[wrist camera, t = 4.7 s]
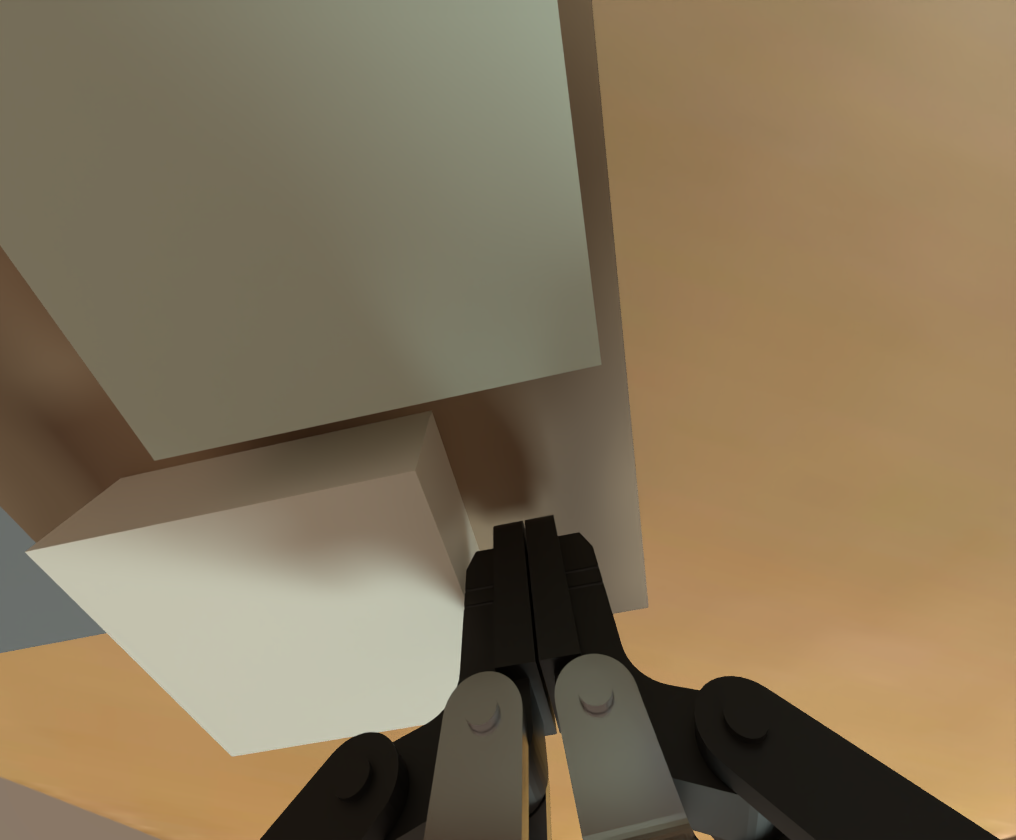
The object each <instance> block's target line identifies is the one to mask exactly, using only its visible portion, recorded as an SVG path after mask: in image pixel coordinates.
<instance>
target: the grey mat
mask: <svg viewBox="0 0 1016 840" xmlns="http://www.w3.org/2000/svg"><path fill="white" fill-rule="evenodd" d="M34 544H36V542H35V541H34V540H33V539H32V538H31V537H30V536H29V535H28V534H27V533H26V532H25V531H24V530H23V529H22V528H21V527H20V526H19V525H18V524H17V523H16V522H15V521H14V520H13V519H12V518H11V517H10V516H9V515H8V514H7V513H6V512H5V511H4V510H3V509H2V508H1V507H0V653H3V652H8V651H14V650H19V649H24V648H30V647H35V646H40V645H46V644H51V643H56V642H62V641H67V640H72V639H77V638H83V637H88V636H93V635H99V634H104V633H106V632H105V631H104V630H103V629H102V628H101V627H100V626H99V625H98V624H97V623H96V622H95V621H94V620H93V619H92V618H91V617H90V616H89V615H88V614H87V613H86V612H85V611H84V610H83V609H82V608H81V607H80V606H79V605H78V604H77V603H76V602H75V601H74V600H73V599H72V598H71V597H70V596H69V595H68V594H67V593H66V592H65V591H64V590H63V589H62V588H61V587H60V586H59V585H58V584H57V583H56V582H55V581H54V580H53V579H52V578H51V577H50V576H48V575H47V574H46V573H45V572H44V571H43V570H42V569H41V568H40V567H39V566H38V565H37V564H36V563H35V562H34V561H33V560H32V559H31V558H30V557H29V556H28V555H27V554H26V553H25V551H27V550H28V549H29V548H30V547H32V546H33V545H34Z"/></svg>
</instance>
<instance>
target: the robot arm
mask: <svg viewBox="0 0 1016 840" xmlns="http://www.w3.org/2000/svg"><path fill="white" fill-rule="evenodd" d="M465 591H466V593H465V598H464V608H465V610H464V614H463V630H462V645H461V661H460V674H459V681H458V684H457V687H456V688H455V690H454V691H453V692H452V694H451V695H450V697H449V699H448V701H447V704H446V706H445V708H444V710H443V711H442V712H441V713H440V714H439V715H438V716H436V717H435V718H434V719H433V720H432V721H430V722H428V723H427V724H425V725H424V726H422V727H420V728H418V729H416V730H414V731H412V732H411V733H409V734H407V735H405V736H403V737H401V738H400V739H398V740H396V741H394V742H392V741H391V740H390V739H389V738H388V737H386V736H385V735H383V734H380V733H377V732H366V733H362V734H359V735H357V736H354V737H352V738H351V739H349V740H347V741H346V742H344V743H343V744H342V745H341V746H340V747H339V748H337V749H336V751H335V752H334V753H333V754H332V755H331V756H330V757H329V758H328V760H327V761H326V762H325V763H324V764H323V765H322V767H321V768H320V769H319V770H318V771H317V773H316V774H315V775H314V776H313V777H312V778H311V780H310V781H309V782H308V783H307V784H306V786H305V787H304V788H303V789H302V790H301V791H300V793H299V794H298V795H297V796H296V797H295V799H294V800H293V801H292V802H291V803H290V804H289V806H288V807H287V808H286V809H285V810H284V812H283V813H282V814H281V815H280V816H279V817H278V819H277V820H276V821H275V822H274V823H273V825H272V826H271V827H270V828H269V829H268V830H267V832H266V833H265V834H264V835H263V836H262V838H261V839H260V840H552V833H551V807H550V785H549V778H548V763H547V753H546V743H545V736H547V735H553V734H557V731H556V723H555V718H556V721H557V725H558V728H559V731H560V733H561V734H562V739H563V744H564V749H565V754H566V759H567V764H568V769H569V774H570V778H571V783H572V788H573V793H574V798H575V803H576V808H577V813H578V818H579V823H580V828H581V833H582V838H583V840H699V839H698V838H697V837H696V836H695V834H694V832H693V830H695V831H698V832H702V833H705V834H708V835H711V836H712V837H713V838H714V840H1000V839H998V838H997V837H995V836H994V835H992V834H991V833H989V832H988V831H986V830H985V829H983V828H981V827H980V826H978V825H977V824H975V823H974V822H972V821H971V820H969V819H968V818H966V817H964V816H963V815H961V814H960V813H958V812H957V811H955V810H954V809H952V808H951V807H949V806H948V805H946V804H944V803H943V802H941V801H940V800H938V799H937V798H935V797H934V796H932V795H931V794H929V793H927V792H926V791H924V790H923V789H921V788H920V787H918V786H917V785H915V784H914V783H912V782H911V781H909V780H907V779H906V778H904V777H903V776H901V775H900V774H898V773H897V772H895V771H894V770H892V769H891V768H889V767H887V766H886V765H884V764H883V763H881V762H880V761H878V760H877V759H875V758H874V757H872V756H870V755H869V754H867V753H866V752H864V751H863V750H861V749H860V748H858V747H857V746H855V745H854V744H852V743H850V742H849V741H847V740H846V739H844V738H843V737H841V736H840V735H838V734H837V733H835V732H834V731H832V730H830V729H829V728H827V727H826V726H824V725H823V724H821V723H820V722H818V721H817V720H815V719H813V718H812V717H810V716H809V715H807V714H806V713H804V712H803V711H801V710H800V709H798V708H797V707H795V706H793V705H792V704H790V703H789V702H787V701H786V700H784V699H783V698H781V697H780V696H778V695H777V694H775V693H773V692H772V691H770V690H769V689H767V688H766V687H764V686H762V685H760V684H759V683H757V682H754V681H752V680H749V679H746V678H742V677H735V676H724V677H720V678H716V679H714V680H711V681H710V682H708V683H707V684H705V685H704V686H703V688H702V689H701V690H694V689H689V688H683V687H677V686H672V685H667V684H663V683H660V682H657V681H655V680H653V679H651V678H649V677H647V676H645V675H644V674H643V673H641V672H640V671H639V670H638V669H637V668H636V667H635V666H634V665H633V664H632V663H631V662H630V660H629V659H628V658H627V656H626V654H625V652H624V650H623V647H622V644H621V641H620V637H619V634H618V631H617V627H616V624H615V620H614V617H613V614H612V610H611V607H610V603H609V600H608V596H607V593H606V590H605V586H604V584H603V579H602V576H601V573H600V569H599V566H598V562H597V559H596V555H595V552H594V549H593V546H592V545H591V544H590V543H589V542H588V541H587V540H586V539H585V537H584V536H583V535H582V534H581V533H580V532H577V533H572V534H567V535H561V536H558V534H557V529H556V524H555V520H554V515H548V516H543V517H538V518H533V519H527V520H525V526H524V523H523V521H518V522H512V523H507V524H502V525H497V526H494V527H493V549H487V550H482V551H477V552H475V554H474V556H473V558H472V560H471V562H470V564H469V566H468V568H467V570H466V583H465ZM554 714H555V715H554Z"/></svg>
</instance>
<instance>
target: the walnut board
mask: <svg viewBox="0 0 1016 840" xmlns="http://www.w3.org/2000/svg"><path fill="white" fill-rule="evenodd" d="M557 3H558V11H559V19H560V28H561V36H562V44H563V52H564V61H565V69H566V77H567V85H568V93H569V102H570V110H571V118H572V126H573V135H574V143H575V151H576V159H577V167H578V176H579V184H580V192H581V200H582V209H583V217H584V225H585V233H586V241H587V250H588V258H589V266H590V274H591V283H592V291H593V299H594V307H595V315H596V324H597V332H598V340H599V348H600V357H601V365H598V366H594V367H589V368H584V369H580V370H575V371H570V372H566V373H561V374H556V375H552V376H547V377H542V378H538V379H533V380H528V381H524V382H519V383H514V384H510V385H505V386H500V387H496V388H491V389H486V390H482V391H477V392H472V393H468V394H463V395H458V396H454V397H449V398H444V399H440V400H435V401H431V402H426V403H421V404H417V405H412V406H407V407H403V408H398V409H393V410H389V411H384V412H379V413H375V414H370V415H365V416H361V417H356V418H351V419H347V420H342V421H337V422H333V423H328V424H323V425H319V426H314V427H309V428H305V429H300V430H295V431H291V432H286V433H281V434H277V435H272V436H268V437H263V438H258V439H254V440H249V441H244V442H240V443H235V444H230V445H226V446H221V447H216V448H212V449H207V450H202V451H198V452H193V453H188V454H184V455H179V456H174V457H170V458H165V459H160V460H156V461H154V459H153V458H152V456H151V455H150V454H149V452H148V451H147V449H146V448H145V447H144V445H143V444H142V443H141V441H140V440H139V438H138V437H137V436H136V434H135V433H134V431H133V430H132V429H131V427H130V426H129V424H128V423H127V422H126V420H125V419H124V417H123V416H122V415H121V413H120V412H119V410H118V409H117V408H116V406H115V405H114V403H113V402H112V401H111V399H110V398H109V396H108V395H107V394H106V392H105V391H104V390H103V388H102V387H101V385H100V384H99V383H98V381H97V380H96V378H95V377H94V376H93V374H92V373H91V371H90V370H89V369H88V367H87V366H86V364H85V363H84V362H83V360H82V359H81V357H80V356H79V355H78V353H77V352H76V350H75V349H74V348H73V346H72V345H71V344H70V342H69V341H68V339H67V338H66V337H65V335H64V334H63V332H62V331H61V330H60V328H59V327H58V325H57V324H56V323H55V321H54V320H53V318H52V317H51V316H50V314H49V313H48V311H47V310H46V309H45V307H44V306H43V304H42V303H41V302H40V300H39V299H38V297H37V296H36V295H35V293H34V292H33V291H32V289H31V288H30V286H29V285H28V284H27V282H26V281H25V279H24V278H23V277H22V275H21V274H20V272H19V271H18V270H17V268H16V267H15V265H14V264H13V263H12V261H11V260H10V258H9V257H8V256H7V254H6V253H5V251H4V250H3V249H2V247H1V246H0V507H1V508H2V509H3V510H4V511H5V512H6V513H7V514H8V515H9V516H10V517H11V518H12V519H13V520H14V521H15V522H16V523H17V524H18V525H19V526H20V527H21V528H22V529H23V530H24V531H25V532H26V533H27V534H28V535H29V536H30V537H31V538H32V539H33V540H34V541H35V542H36V543H37V542H38V541H40V540H41V539H42V538H43V537H45V536H46V535H47V534H49V533H50V532H51V531H53V530H54V529H55V528H56V527H58V526H59V525H60V524H62V523H63V522H64V521H66V520H67V519H68V518H69V517H71V516H72V515H73V514H75V513H76V512H77V511H79V510H80V509H81V508H83V507H84V506H85V505H86V504H88V503H89V502H90V501H92V500H93V499H94V498H96V497H97V496H98V495H99V494H101V493H102V492H103V491H105V490H106V489H107V488H109V487H110V486H111V485H112V484H114V483H115V482H116V481H118V480H119V479H120V478H123V477H128V476H132V475H137V474H142V473H146V472H151V471H155V470H160V469H165V468H169V467H174V466H178V465H183V464H188V463H192V462H197V461H201V460H206V459H211V458H215V457H220V456H224V455H229V454H233V453H238V452H243V451H247V450H252V449H256V448H261V447H266V446H270V445H275V444H279V443H284V442H289V441H293V440H298V439H302V438H307V437H312V436H316V435H321V434H325V433H330V432H335V431H339V430H344V429H348V428H353V427H358V426H362V425H367V424H371V423H376V422H381V421H385V420H390V419H394V418H399V417H403V416H408V415H413V414H417V413H422V412H426V411H431V410H432V413H433V416H434V419H435V422H436V425H437V428H438V431H439V433H440V436H441V439H442V442H443V445H444V448H445V451H446V454H447V457H448V460H449V463H450V466H451V469H452V472H453V475H454V477H455V480H456V483H457V486H458V489H459V492H460V495H461V498H462V501H463V504H464V507H465V510H466V513H467V516H468V518H469V521H470V524H471V527H472V530H473V533H474V536H475V539H476V542H477V545H478V548H479V551H482V550H487V549H493V527H494V526H497V525H502V524H507V523H512V522H518V521H523V523H524V526H525V520H527V519H533V518H538V517H543V516H548V515H554V520H555V524H556V529H557V534H558V536H561V535H567V534H572V533H577V532H580V533H581V534H582V535H583V536H584V537H585V539H586V540H587V541H588V542H589V543H590V544H591V545H592V546H593V549H594V552H595V555H596V559H597V562H598V566H599V569H600V573H601V576H602V579H603V584H604V586H605V590H606V593H607V596H608V600H609V603H610V607H611V610H612V614H614V613H620V612H626V611H631V610H637V609H643V608H648V597H647V587H646V576H645V565H644V554H643V544H642V533H641V522H640V512H639V501H638V490H637V480H636V469H635V458H634V448H633V437H632V426H631V416H630V405H629V394H628V384H627V373H626V362H625V352H624V341H623V330H622V320H621V309H620V298H619V288H618V277H617V266H616V255H615V245H614V234H613V223H612V213H611V202H610V191H609V181H608V170H607V159H606V149H605V138H604V127H603V117H602V106H601V95H600V85H599V74H598V63H597V53H596V42H595V31H594V21H593V10H592V0H557Z"/></svg>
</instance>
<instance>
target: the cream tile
mask: <svg viewBox="0 0 1016 840" xmlns="http://www.w3.org/2000/svg"><path fill="white" fill-rule="evenodd" d="M477 551H479V548H478V545H477V542H476V539H475V536H474V533H473V530H472V527H471V524H470V521H469V518H468V516H467V513H466V510H465V507H464V504H463V501H462V498H461V495H460V492H459V489H458V486H457V483H456V480H455V477H454V475H453V472H452V469H451V466H450V463H449V460H448V457H447V454H446V451H445V448H444V445H443V442H442V439H441V436H440V433H439V431H438V428H437V425H436V422H435V419H434V416H433V413H432V410H431V411H426V412H422V413H417V414H413V415H408V416H403V417H399V418H394V419H390V420H385V421H381V422H376V423H371V424H367V425H362V426H358V427H353V428H348V429H344V430H339V431H335V432H330V433H325V434H321V435H316V436H312V437H307V438H302V439H298V440H293V441H289V442H284V443H279V444H275V445H270V446H266V447H261V448H256V449H252V450H247V451H243V452H238V453H233V454H229V455H224V456H220V457H215V458H211V459H206V460H201V461H197V462H192V463H188V464H183V465H178V466H174V467H169V468H165V469H160V470H155V471H151V472H146V473H142V474H137V475H132V476H128V477H123V478H120V479H119V480H118V481H116V482H115V483H114V484H112V485H111V486H110V487H109V488H107V489H106V490H105V491H103V492H102V493H101V494H99V495H98V496H97V497H96V498H94V499H93V500H92V501H90V502H89V503H88V504H86V505H85V506H84V507H83V508H81V509H80V510H79V511H77V512H76V513H75V514H73V515H72V516H71V517H69V518H68V519H67V520H66V521H64V522H63V523H62V524H60V525H59V526H58V527H56V528H55V529H54V530H53V531H51V532H50V533H49V534H47V535H46V536H45V537H43V538H42V539H41V540H40V541H38V542H37V543H36V544H34V545H33V546H32V547H30V548H29V549H28V550H27V551H25V553H26V554H27V555H28V556H29V557H30V558H31V559H32V560H33V561H34V562H35V563H36V564H37V565H38V566H39V567H40V568H41V569H42V570H43V571H44V572H45V573H46V574H47V575H48V576H50V577H51V578H52V579H53V580H54V581H55V582H56V583H57V584H58V585H59V586H60V587H61V588H62V589H63V590H64V591H65V592H66V593H67V594H68V595H69V596H70V597H71V598H72V599H73V600H74V601H75V602H76V603H77V604H78V605H79V606H80V607H81V608H82V609H83V610H84V611H85V612H86V613H87V614H88V615H89V616H90V617H91V618H92V619H93V620H94V621H95V622H96V623H97V624H98V625H99V626H100V627H101V628H102V629H103V630H104V631H105V632H106V633H107V634H108V635H109V636H110V637H111V638H112V639H113V640H114V641H115V642H116V643H117V644H118V645H119V646H120V647H121V648H122V649H123V650H125V651H126V652H127V653H128V654H129V655H130V656H131V657H132V658H133V659H134V660H135V661H136V662H137V663H138V664H139V665H140V666H141V667H142V668H143V669H144V670H145V671H146V672H147V673H148V674H149V675H150V676H151V677H152V678H153V679H154V680H155V681H156V682H157V683H158V684H159V685H160V686H161V687H162V688H163V689H164V690H165V691H166V692H167V693H168V694H169V695H170V696H171V697H172V698H173V699H174V700H175V701H176V702H177V703H178V704H179V705H180V706H181V707H182V708H183V709H184V710H185V711H186V712H187V713H188V714H189V715H190V716H191V717H192V718H193V719H194V720H195V721H196V722H197V723H198V724H199V725H201V726H202V727H203V728H204V729H205V730H206V731H207V732H208V733H209V734H210V735H211V736H212V737H213V738H214V739H215V740H216V741H217V742H218V743H219V744H220V745H221V746H222V747H223V748H224V749H225V750H226V751H227V752H228V753H229V754H230V755H231V756H238V755H244V754H250V753H256V752H262V751H268V750H274V749H280V748H287V747H293V746H299V745H305V744H311V743H317V742H323V741H329V740H335V739H341V738H347V737H353V736H357V735H359V734H362V733H366V732H383V731H389V730H395V729H401V728H407V727H413V726H419V725H425V724H427V723H428V722H430V721H432V720H433V719H434V718H435V717H436V716H438V715H439V714H440V713H441V712H442V711H443V710H444V708H445V706H446V704H447V701H448V699H449V697H450V695H451V694H452V692H453V691H454V690H455V688H456V687H457V684H458V681H459V674H460V661H461V645H462V630H463V614H464V610H465V608H464V598H465V593H466V591H465V583H466V570H467V568H468V566H469V564H470V562H471V560H472V558H473V556H474V554H475V552H477Z"/></svg>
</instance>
